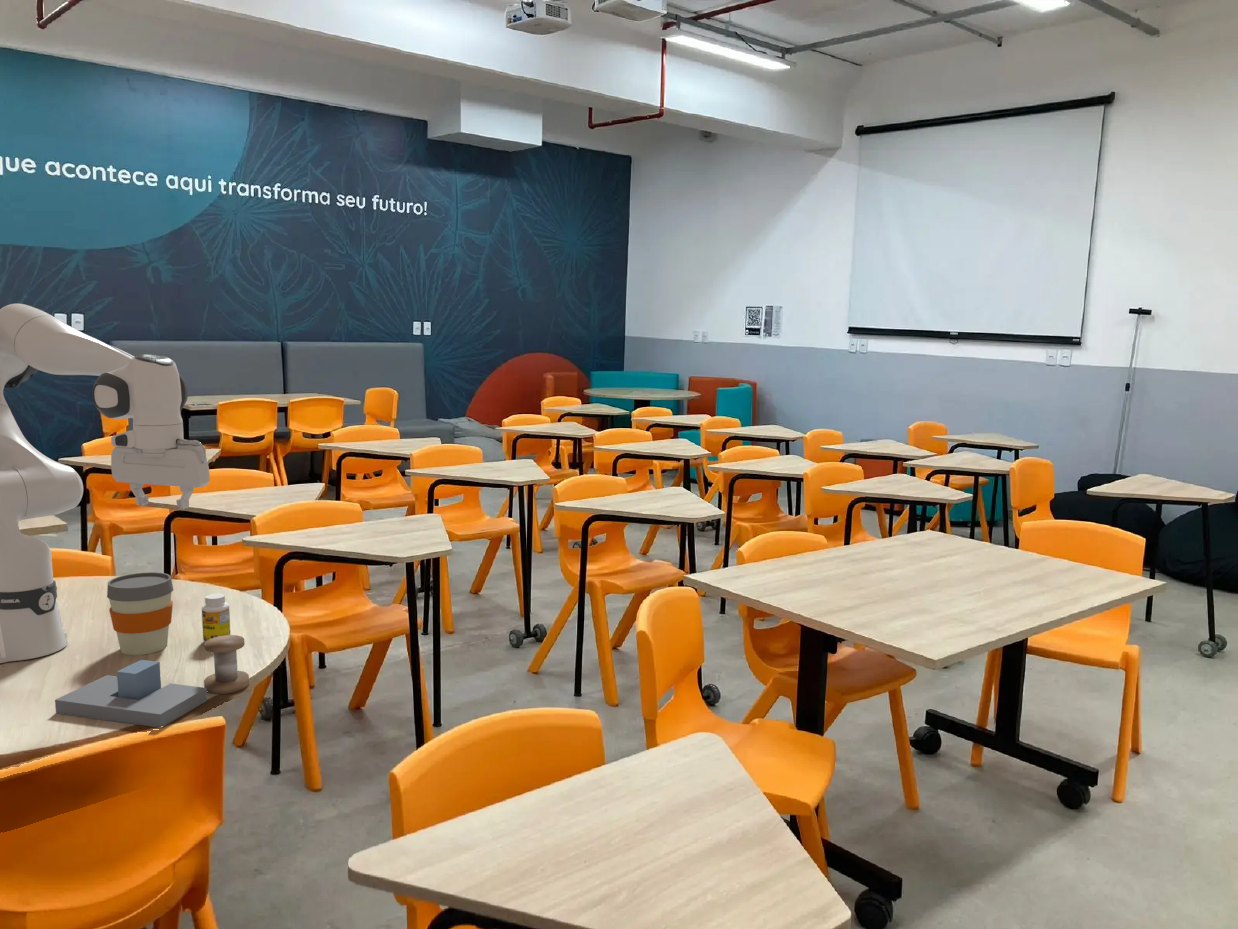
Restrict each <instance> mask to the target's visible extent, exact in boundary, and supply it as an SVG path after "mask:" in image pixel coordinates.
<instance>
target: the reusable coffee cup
mask: <svg viewBox="0 0 1238 929" xmlns="http://www.w3.org/2000/svg"><path fill="white" fill-rule="evenodd" d="M173 591H174V585H173V581H172V576H171V575H170V574H168V573H165V572H157V571H156V572H155V571H154V572H153V571H152V572H151V571H148V572H137V573H136V572H135V573H130V574H125V575H120V576H117V577H114V578H112V579H110V580H109V581H108V582H107V591H106V592H107V593H106V598H107V599H108V600H109V604H110V608H109V615H110V618H111V619H110V620H111V624H112V629H113V631H115V632H116V637H117V641H118V647H119V650H120V652H121V653H122V654H123V655H128V656H142V655H149V654H153V653H157V652H160V651H163V650H164V649H165V648H166V647H167V646H168V642H169V641H168V640H169V638H168V637H169V631H170V630H169V628H170V627H169V626H170V625H171V623H172V614H173V605H174V602H173V600H172V594H173V593H172V592H173Z"/></svg>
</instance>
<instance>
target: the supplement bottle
mask: <svg viewBox="0 0 1238 929" xmlns="http://www.w3.org/2000/svg"><path fill="white" fill-rule="evenodd" d="M204 603H205V604H203V605H202V607H201V620H202V637H203V638H202V639H203V642H204V643H205V642H206V641H207V640H209V639H211V638H214V637H219V636H225V635H232V633H231V616H230V614H231V613H230V604H229V603H228V602H227V601H226V597H225V594H224V593H211V594H208V595H206V596H205V597H204Z"/></svg>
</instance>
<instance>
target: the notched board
mask: <svg viewBox="0 0 1238 929" xmlns="http://www.w3.org/2000/svg"><path fill="white" fill-rule="evenodd" d="M206 702H208V692H207V688H204V686H195V685H186V684H179V683H168V684H167V685H165V686H163V687H161V689H159V690H157V691H155V692H153V693H151V694H150V695H148V696H146V697H144V698H142V699H140V700H135V699H127V698H120V697H119V695H118V681H117V675H109V674H106V675H103V676H102V677H100V678H97V679H96V680H93V681H92V682H89V683H87V684H85V685H83V686H81V687H79V688H76V689H75V690H72V691H71V692H68V693H66V694H64V695H62V696H60V697H57V698H56V699H54V707H55V714H59V715H67V716H75V717H81V718H89V719H94V720H95V719H96V720H102V721H109V722H117V723H124V724H130V725H139V726H145V727H153V728H158V727H161V726H164V727H165V726H167V725H169V724H170V723H173V722H174V721H175V720H177V719H179V718H180V717H182V716H184V715H185V714H187V713H189V712H191V711H192V710H194V709H196V708H197V707H199V706H201V705H202V704H204V703H206Z"/></svg>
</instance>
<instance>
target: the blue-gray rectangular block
mask: <svg viewBox="0 0 1238 929" xmlns="http://www.w3.org/2000/svg"><path fill="white" fill-rule="evenodd" d="M116 676H117V681H118V695H119V697H120V698H127V699H135V700H140V699H142V698H144V697H146V696H148V695H150V694H151V693H153V692H155V691H157V690H159V689H161V688H162V680H161V679H162V678H161V665H160V661H154V660H153V661H152V660H147V659H140V660H138V661H136V662H134V663H132V664H129V665H128V666H125V667H123V668H121V669H119V670H118V671H116Z"/></svg>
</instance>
